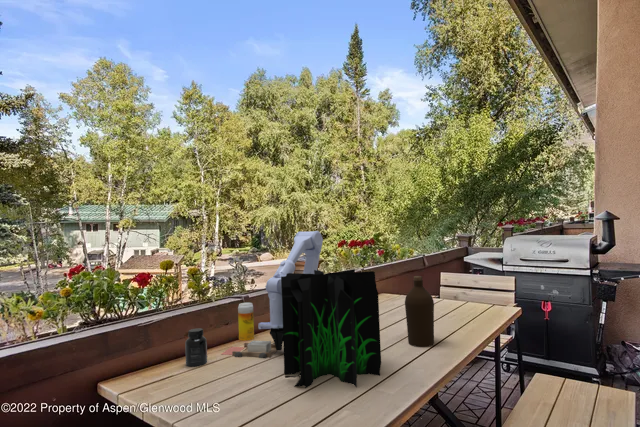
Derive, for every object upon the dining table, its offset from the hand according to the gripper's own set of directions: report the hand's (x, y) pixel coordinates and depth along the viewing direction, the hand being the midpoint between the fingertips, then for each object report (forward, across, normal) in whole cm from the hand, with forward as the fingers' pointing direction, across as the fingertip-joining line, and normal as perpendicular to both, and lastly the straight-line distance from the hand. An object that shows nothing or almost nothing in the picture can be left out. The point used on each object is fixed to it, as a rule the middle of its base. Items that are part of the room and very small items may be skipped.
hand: (279, 349), depth 132 cm
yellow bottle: (+2, -19, +16) cm, 25 cm away
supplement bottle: (+2, -24, -13) cm, 28 cm away
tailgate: (+2, -15, 0) cm, 15 cm away
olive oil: (+2, +50, +19) cm, 53 cm away
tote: (+1, -8, 0) cm, 8 cm away
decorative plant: (+2, +22, -12) cm, 24 cm away
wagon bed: (+2, -8, 0) cm, 9 cm away
